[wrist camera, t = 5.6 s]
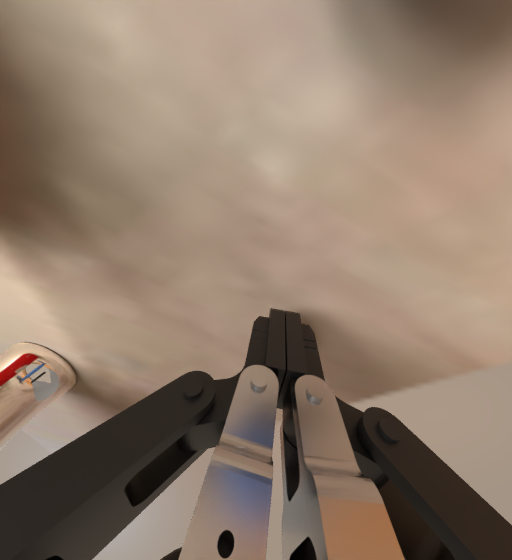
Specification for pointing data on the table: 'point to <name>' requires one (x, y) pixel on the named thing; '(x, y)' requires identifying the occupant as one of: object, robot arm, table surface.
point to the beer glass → (29, 385)
